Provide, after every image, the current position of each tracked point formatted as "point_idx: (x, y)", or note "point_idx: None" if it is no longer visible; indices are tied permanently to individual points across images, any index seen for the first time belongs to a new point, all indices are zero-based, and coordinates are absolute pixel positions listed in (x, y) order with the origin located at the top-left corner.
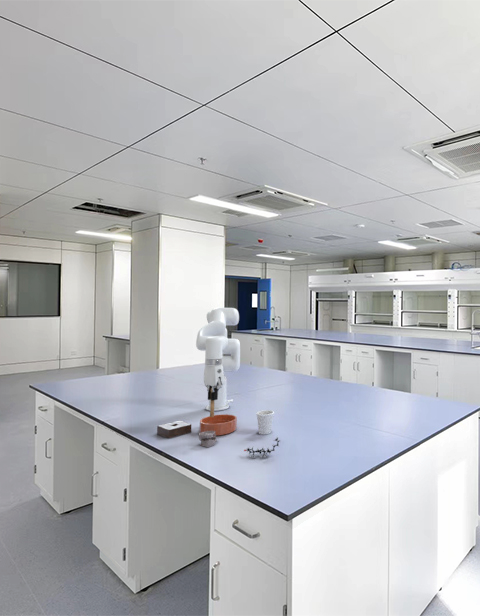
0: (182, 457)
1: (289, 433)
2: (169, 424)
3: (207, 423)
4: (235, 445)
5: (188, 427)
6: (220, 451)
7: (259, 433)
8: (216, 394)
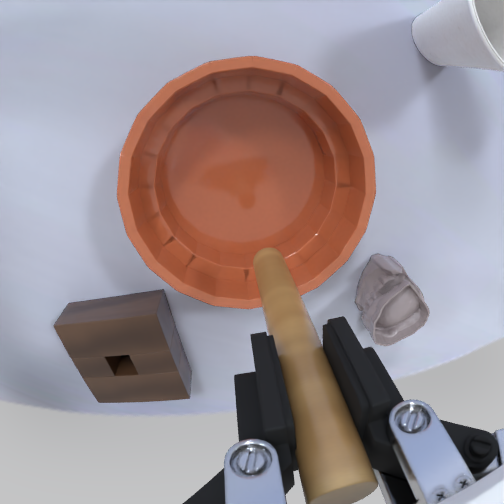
0: (407, 370)
1: None
2: (101, 374)
3: (168, 226)
4: (467, 218)
5: (163, 319)
6: (464, 279)
7: (436, 64)
8: (391, 387)
